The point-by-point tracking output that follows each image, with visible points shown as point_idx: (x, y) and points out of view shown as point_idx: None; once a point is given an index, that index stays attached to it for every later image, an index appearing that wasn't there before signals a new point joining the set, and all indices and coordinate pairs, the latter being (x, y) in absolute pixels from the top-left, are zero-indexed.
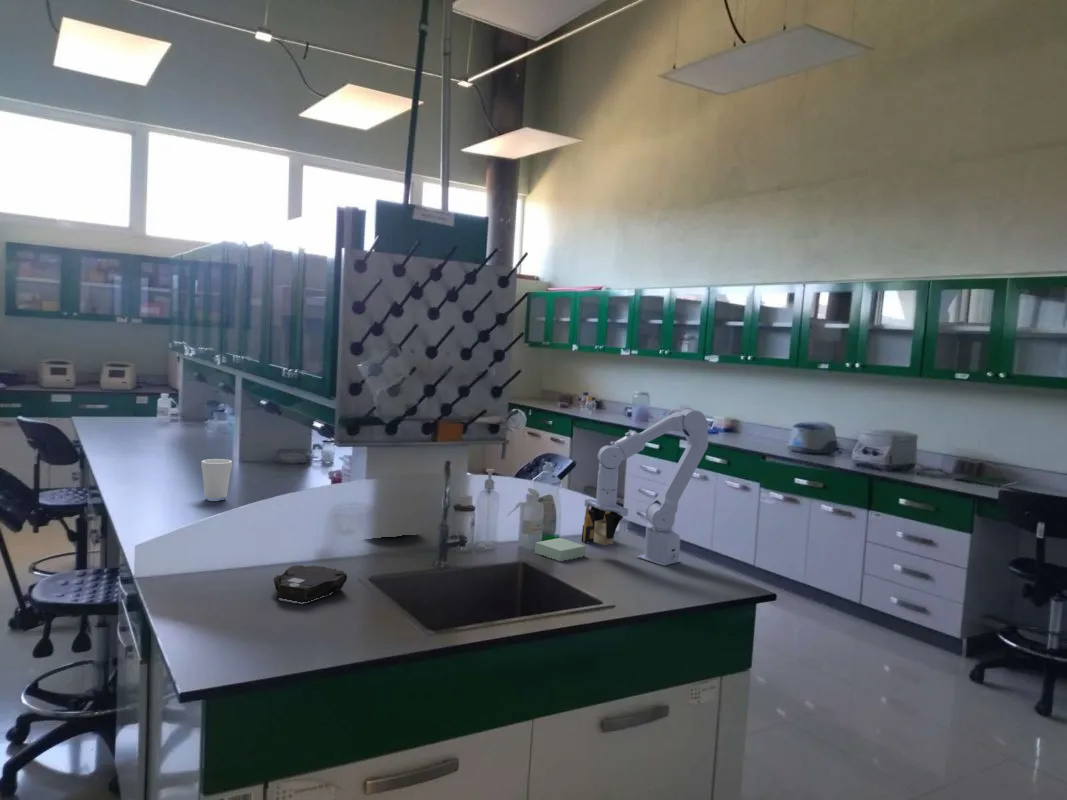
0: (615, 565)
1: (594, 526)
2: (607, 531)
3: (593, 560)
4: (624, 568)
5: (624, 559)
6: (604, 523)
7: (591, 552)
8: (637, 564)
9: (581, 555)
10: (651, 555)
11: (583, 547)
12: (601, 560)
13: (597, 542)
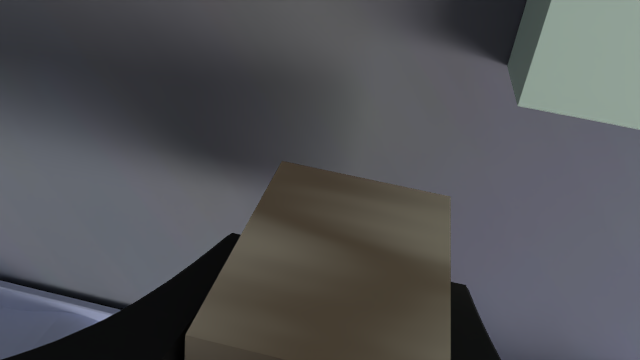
0: (142, 29)
1: (469, 347)
2: (208, 275)
3: (367, 10)
4: (43, 10)
5: (212, 234)
6: (219, 351)
7: (523, 226)
8: (72, 188)
9: (525, 17)
10: (42, 333)
11: (526, 65)
12: (315, 71)
13: (384, 184)
